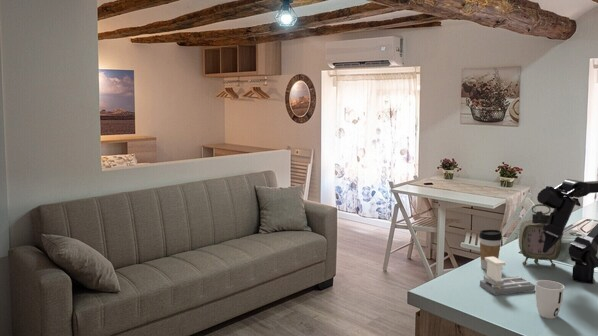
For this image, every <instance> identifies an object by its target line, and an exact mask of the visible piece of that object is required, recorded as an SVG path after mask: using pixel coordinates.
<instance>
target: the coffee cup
mask: <svg viewBox="0 0 598 336" xmlns="http://www.w3.org/2000/svg"><path fill="white" fill-rule="evenodd" d="M502 236H503V235H502V231H501V230H499V229H482V230H480V231H479V236H478V238H479V241H480V242H479V250H480V251H479V252H480V255H479V256H480V268H481V269H483V270H486V271H487V261H486V260H485V257H493V256H494V257H496V258H498V259H499V256H500V250H501V241H502V240H503V237H502Z"/></svg>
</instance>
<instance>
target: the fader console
mask: <svg viewBox="0 0 598 336" xmlns="http://www.w3.org/2000/svg"><path fill="white" fill-rule="evenodd" d="M501 280H503V281H504V284H503V285H492V284H491V283H489V282H487V281H486V280H484V279H481V280H479V286H480V287H481V288H483V289H485V290H486V291H487V292H489V293H490V294H492V295H494V296H498V295H507V294H508V295H509V293H510V294H517V292H519V293H526V292H525V291H528V292H534V291H533V290H535V291H536V289H535V284H534V283H532V282H531V281H530V280H526V279H524V278H523V276H512V277H511V276H509V277H501Z"/></svg>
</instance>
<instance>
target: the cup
mask: <svg viewBox="0 0 598 336" xmlns="http://www.w3.org/2000/svg"><path fill="white" fill-rule="evenodd" d="M534 285H535V301H536V308H537V312H538V314H539V316H540V317H542V318H546V319H556V318H557V317H558V315H559V312H560V310H561V306H562V302H563V298H564V293H565V292H564V291H565V285H564V284H562V283H560V282H558V281H554V280H547V279H540V280H537V281H535V284H534Z"/></svg>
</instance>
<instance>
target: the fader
mask: <svg viewBox="0 0 598 336" xmlns="http://www.w3.org/2000/svg"><path fill="white" fill-rule="evenodd" d="M485 260H486V261H487V270H486V275H484V276H483V280H486V281H487V282H489V283H491V284H492V285H503V284H504V281H503V280H501V278H502V273H503V271H502V269H503V266H506V261H503V260H501V259H500V258H499V257H498V258H496V257H494V256H493V257H485Z"/></svg>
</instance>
